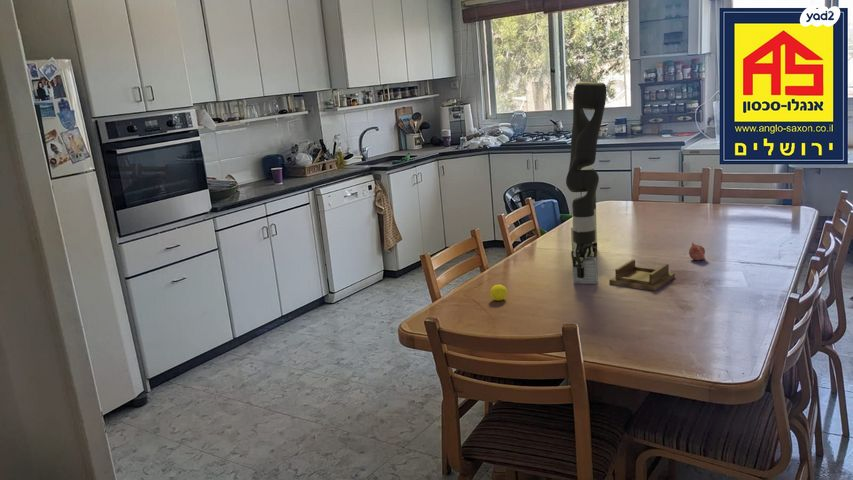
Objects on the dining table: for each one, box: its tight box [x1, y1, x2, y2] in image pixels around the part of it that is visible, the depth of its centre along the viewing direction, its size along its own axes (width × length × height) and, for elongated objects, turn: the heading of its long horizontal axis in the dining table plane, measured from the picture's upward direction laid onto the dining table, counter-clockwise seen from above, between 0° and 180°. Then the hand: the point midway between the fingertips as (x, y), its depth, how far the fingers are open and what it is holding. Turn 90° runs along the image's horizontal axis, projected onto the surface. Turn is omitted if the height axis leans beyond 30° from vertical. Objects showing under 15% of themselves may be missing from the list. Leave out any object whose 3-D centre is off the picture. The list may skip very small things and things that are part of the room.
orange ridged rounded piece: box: [688, 242, 707, 261], centre depth 244 cm, size 8×8×6 cm
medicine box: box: [572, 257, 598, 285], centre depth 230 cm, size 8×4×9 cm, turn 71°
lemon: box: [489, 284, 508, 302], centre depth 220 cm, size 7×5×5 cm
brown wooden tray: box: [609, 259, 676, 292], centre depth 227 cm, size 16×16×5 cm
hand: (585, 275), depth 230 cm, fingers closed on medicine box, 5 cm apart
